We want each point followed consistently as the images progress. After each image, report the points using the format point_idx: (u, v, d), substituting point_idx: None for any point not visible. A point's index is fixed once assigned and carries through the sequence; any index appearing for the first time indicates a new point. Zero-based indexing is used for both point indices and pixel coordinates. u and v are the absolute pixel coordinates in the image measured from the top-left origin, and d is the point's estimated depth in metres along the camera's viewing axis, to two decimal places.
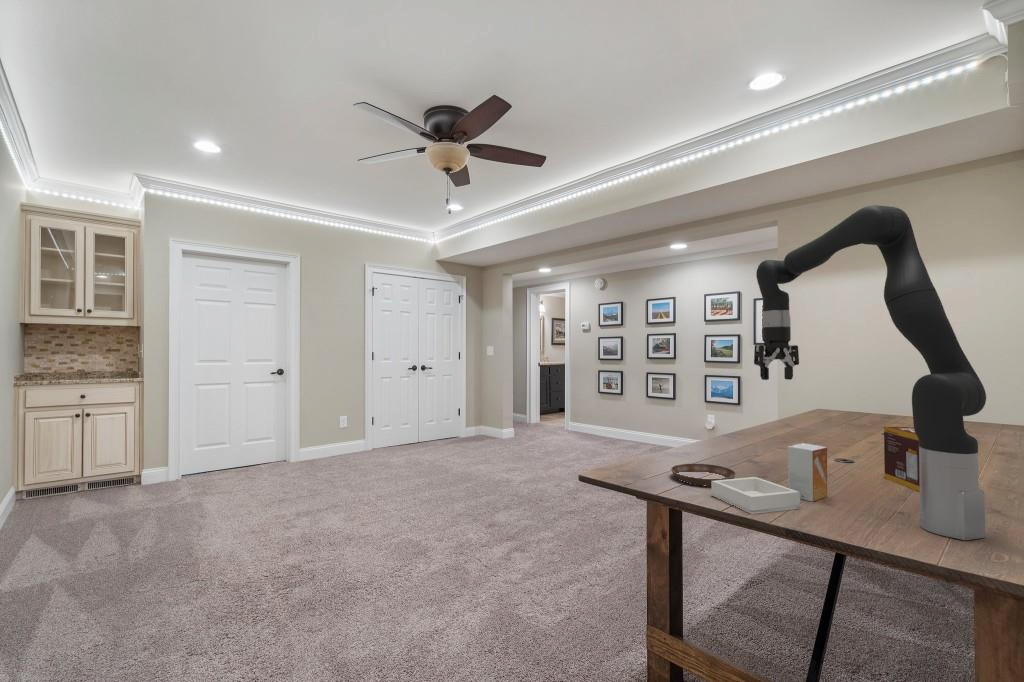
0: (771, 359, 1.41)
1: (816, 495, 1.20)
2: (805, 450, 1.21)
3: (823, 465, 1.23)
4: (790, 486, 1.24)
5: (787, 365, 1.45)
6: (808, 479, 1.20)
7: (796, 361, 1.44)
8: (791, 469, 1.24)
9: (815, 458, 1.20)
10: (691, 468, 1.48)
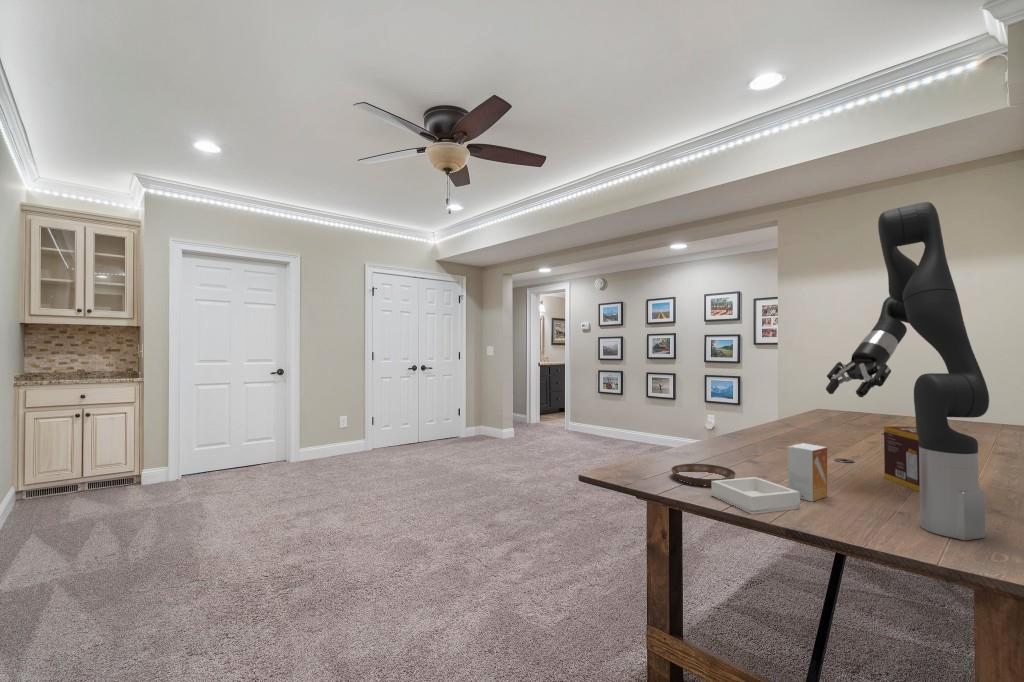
0: (839, 372, 1.32)
1: (816, 495, 1.20)
2: (805, 450, 1.21)
3: (824, 465, 1.23)
4: (790, 486, 1.24)
5: None
6: (808, 479, 1.20)
7: (874, 377, 1.23)
8: (791, 469, 1.24)
9: (815, 458, 1.20)
10: (691, 468, 1.48)
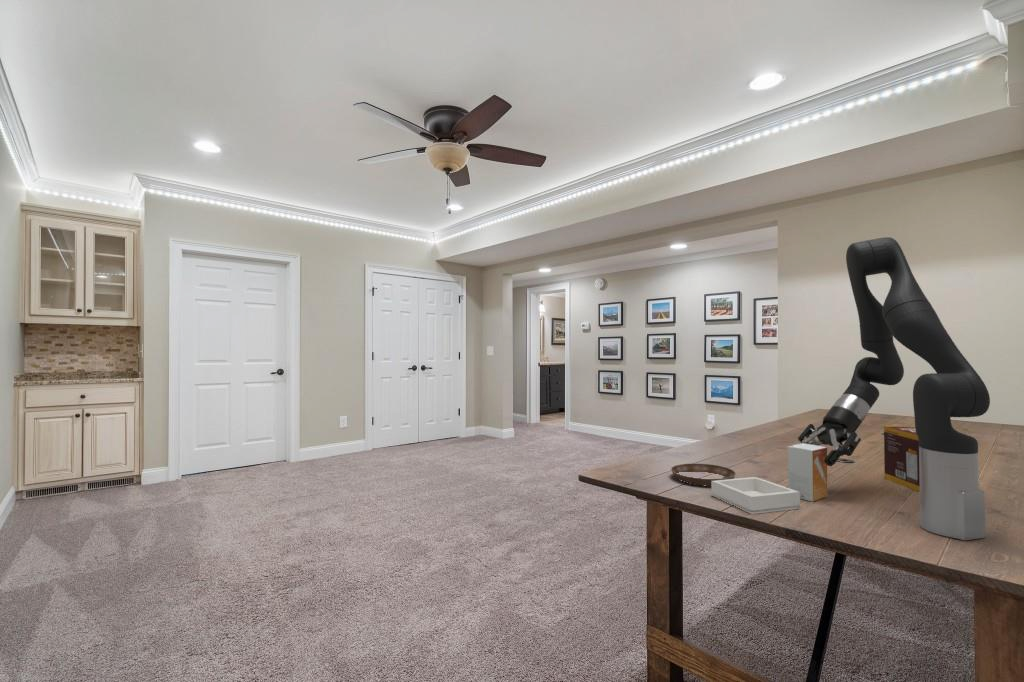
0: (810, 436, 1.29)
1: (816, 495, 1.20)
2: (805, 450, 1.21)
3: (824, 465, 1.23)
4: (790, 486, 1.24)
5: None
6: (808, 479, 1.20)
7: (843, 446, 1.20)
8: (791, 469, 1.24)
9: (815, 458, 1.20)
10: (691, 468, 1.48)
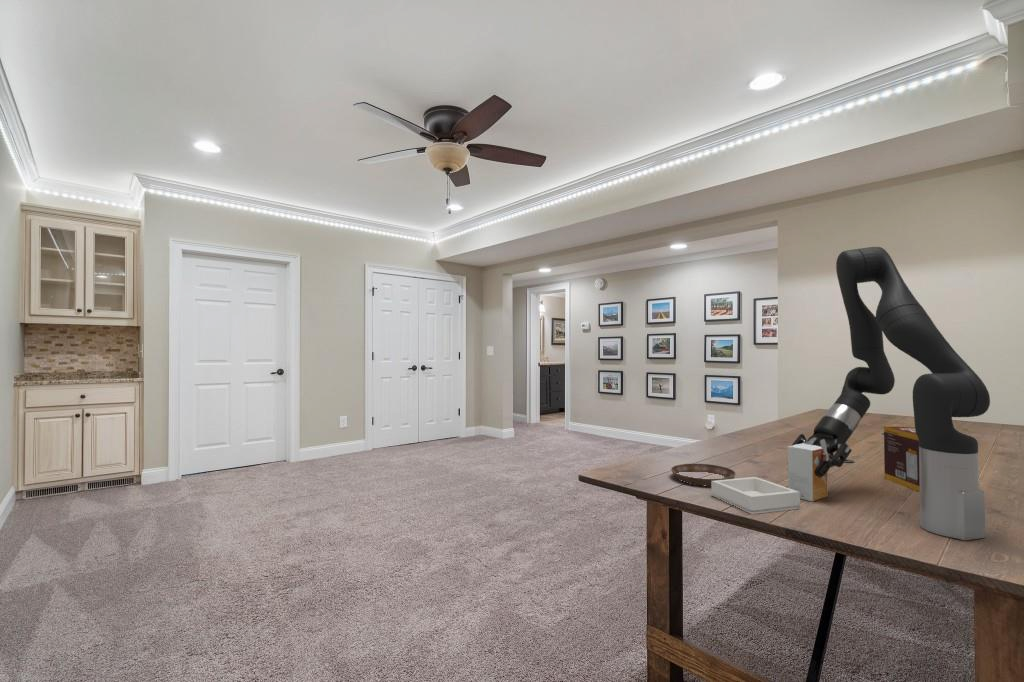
0: None
1: (816, 495, 1.20)
2: (805, 450, 1.21)
3: None
4: (790, 486, 1.24)
5: None
6: (808, 478, 1.20)
7: (833, 457, 1.19)
8: (791, 469, 1.24)
9: (815, 458, 1.20)
10: (691, 468, 1.48)
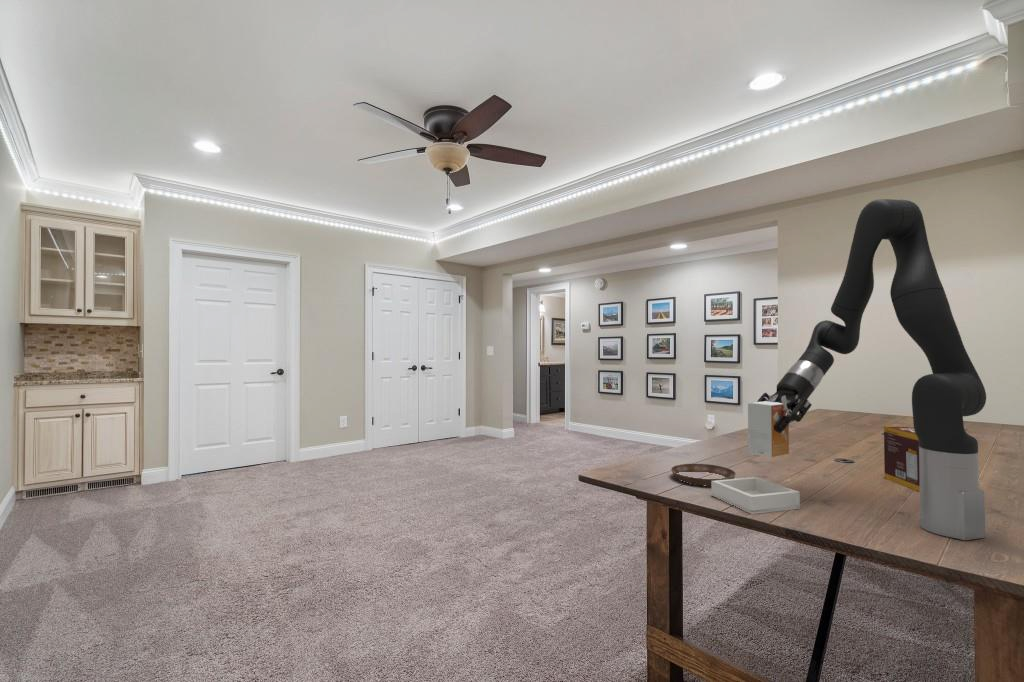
0: None
1: (776, 451, 1.18)
2: (764, 405, 1.19)
3: None
4: (750, 443, 1.21)
5: None
6: (767, 434, 1.18)
7: (792, 411, 1.16)
8: (751, 426, 1.21)
9: (774, 413, 1.18)
10: (691, 469, 1.48)
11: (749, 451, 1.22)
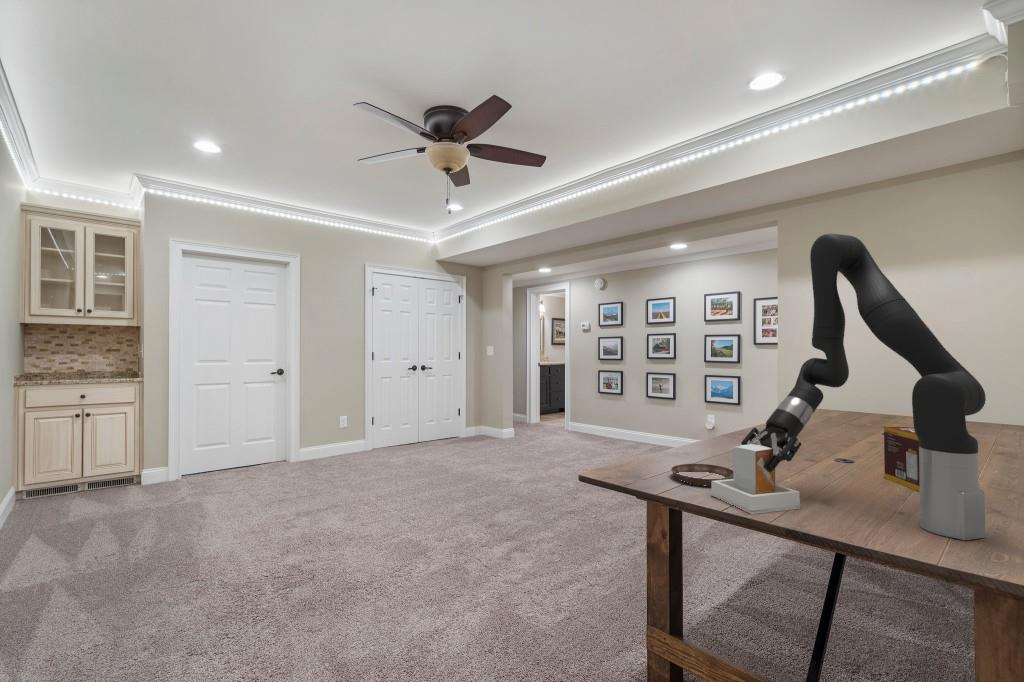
0: (752, 440, 1.24)
1: None
2: (749, 450, 1.17)
3: None
4: None
5: None
6: (751, 480, 1.16)
7: (783, 451, 1.15)
8: (736, 470, 1.20)
9: (758, 459, 1.16)
10: (691, 469, 1.48)
11: None
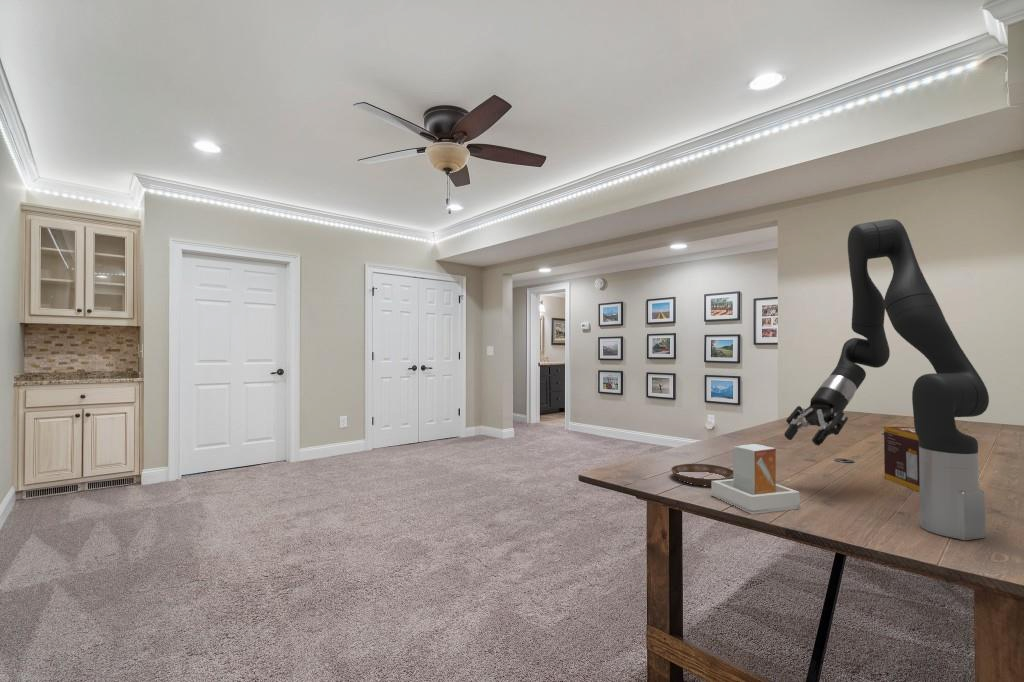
0: (798, 417, 1.29)
1: None
2: (748, 450, 1.17)
3: (770, 467, 1.18)
4: (735, 487, 1.20)
5: None
6: (750, 480, 1.16)
7: (830, 425, 1.20)
8: (736, 470, 1.20)
9: (758, 459, 1.16)
10: (691, 469, 1.48)
11: None
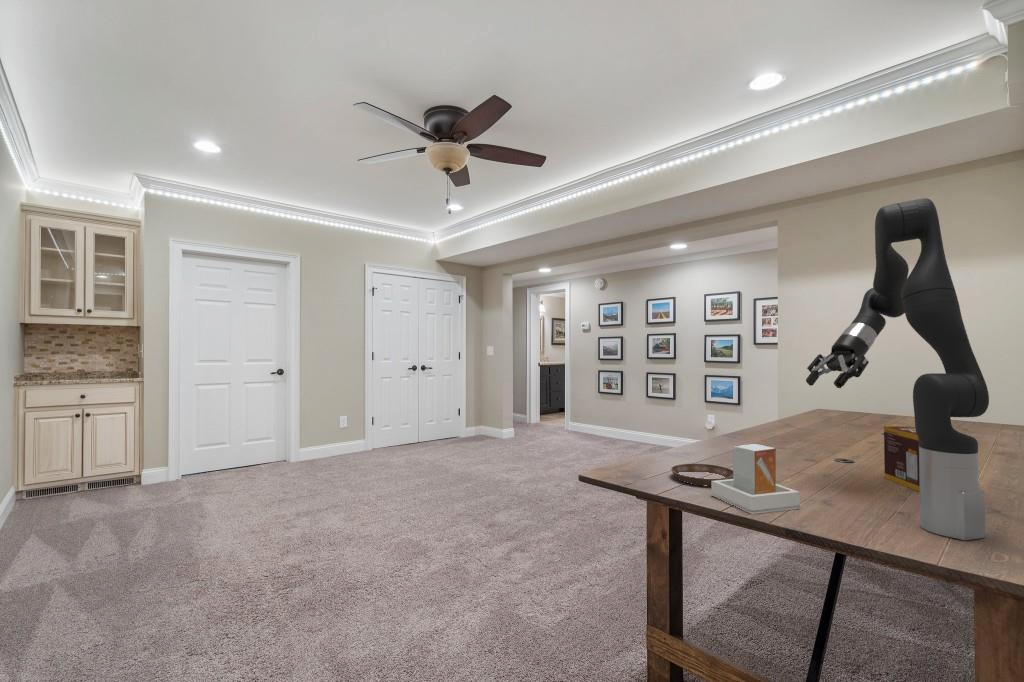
0: (819, 364, 1.34)
1: None
2: (748, 450, 1.17)
3: (770, 467, 1.18)
4: (735, 487, 1.20)
5: None
6: (750, 480, 1.16)
7: (852, 368, 1.25)
8: (736, 470, 1.20)
9: (758, 459, 1.16)
10: (691, 469, 1.48)
11: None
